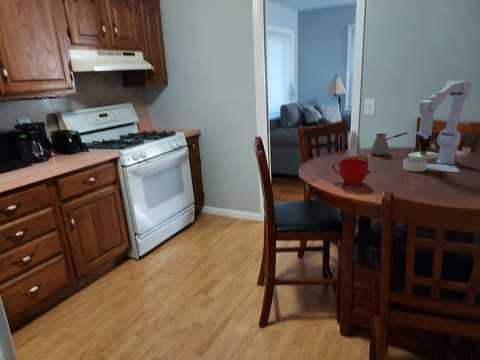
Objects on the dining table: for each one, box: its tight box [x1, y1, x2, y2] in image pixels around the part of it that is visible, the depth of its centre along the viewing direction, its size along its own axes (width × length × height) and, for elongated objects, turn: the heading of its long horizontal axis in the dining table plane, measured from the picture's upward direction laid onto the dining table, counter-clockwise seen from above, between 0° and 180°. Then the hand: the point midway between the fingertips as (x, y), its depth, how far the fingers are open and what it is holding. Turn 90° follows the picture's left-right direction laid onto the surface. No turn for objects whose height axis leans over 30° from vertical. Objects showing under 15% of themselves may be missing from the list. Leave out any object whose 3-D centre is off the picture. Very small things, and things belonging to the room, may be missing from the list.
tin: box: [342, 154, 369, 163], centre depth 180 cm, size 15×3×8 cm, turn 105°
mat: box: [426, 163, 460, 173], centre depth 178 cm, size 14×14×1 cm
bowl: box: [402, 157, 428, 172], centre depth 178 cm, size 11×11×4 cm
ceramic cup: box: [331, 159, 369, 186], centre depth 161 cm, size 13×17×10 cm
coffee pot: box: [370, 131, 409, 156], centre depth 209 cm, size 21×12×15 cm, turn 52°
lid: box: [408, 148, 439, 160], centre depth 176 cm, size 14×14×4 cm
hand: (423, 150), depth 175 cm, fingers closed on lid, 3 cm apart
